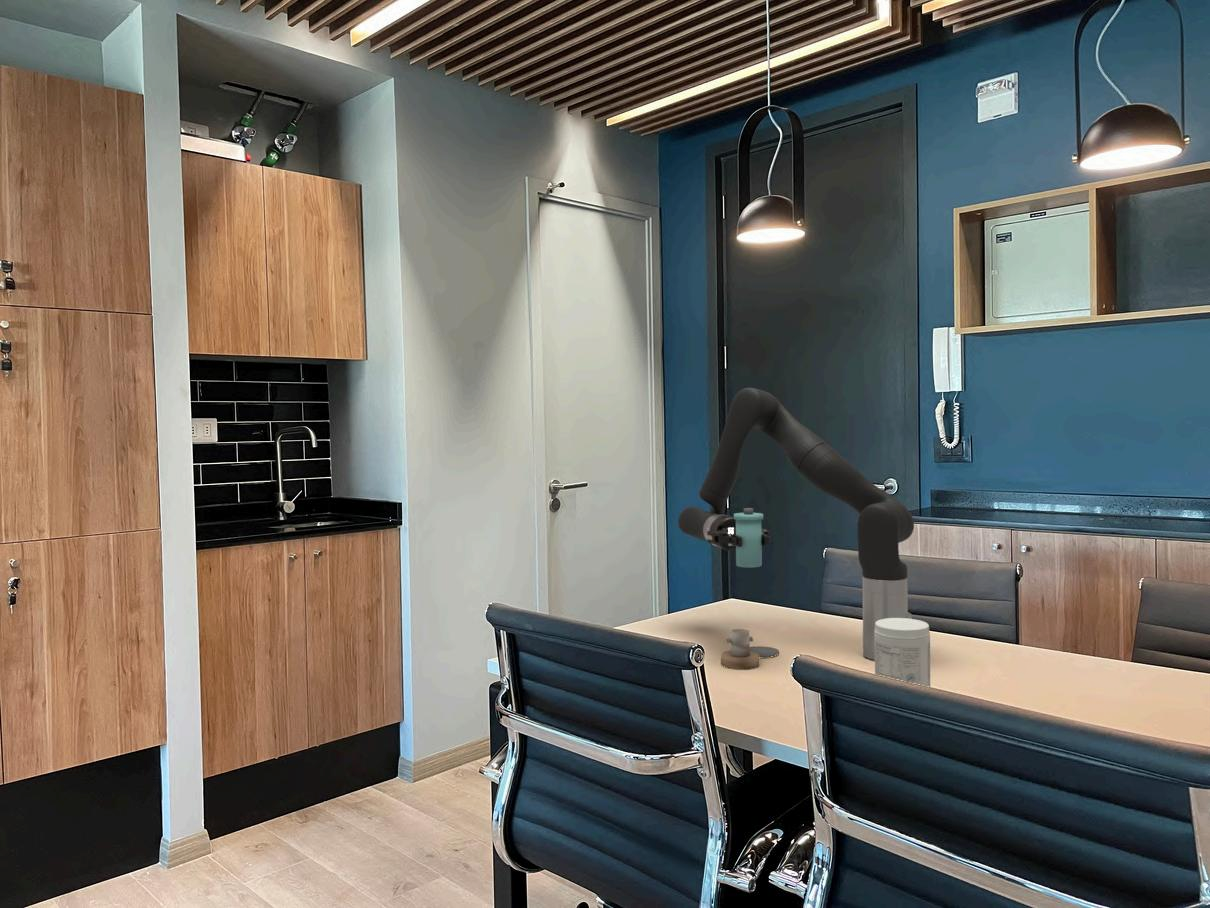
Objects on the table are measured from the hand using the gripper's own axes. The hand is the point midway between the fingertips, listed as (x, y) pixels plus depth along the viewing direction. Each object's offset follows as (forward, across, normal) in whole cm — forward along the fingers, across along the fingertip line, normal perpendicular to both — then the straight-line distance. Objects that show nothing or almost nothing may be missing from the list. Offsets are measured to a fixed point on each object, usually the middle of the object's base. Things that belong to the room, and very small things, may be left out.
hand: (753, 541), depth 191 cm
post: (0, -3, +26) cm, 26 cm away
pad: (-7, +4, +26) cm, 27 cm away
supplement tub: (+34, +14, +26) cm, 45 cm away
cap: (-3, 0, +6) cm, 6 cm away
